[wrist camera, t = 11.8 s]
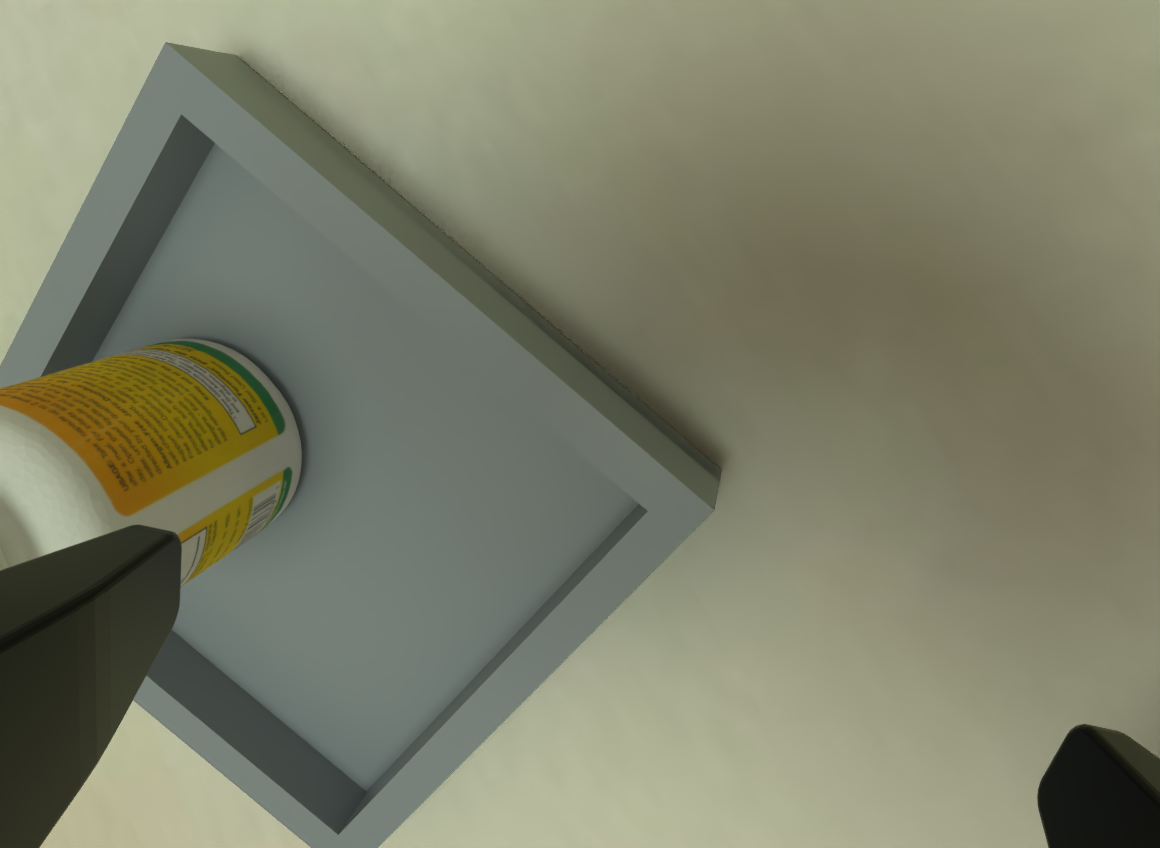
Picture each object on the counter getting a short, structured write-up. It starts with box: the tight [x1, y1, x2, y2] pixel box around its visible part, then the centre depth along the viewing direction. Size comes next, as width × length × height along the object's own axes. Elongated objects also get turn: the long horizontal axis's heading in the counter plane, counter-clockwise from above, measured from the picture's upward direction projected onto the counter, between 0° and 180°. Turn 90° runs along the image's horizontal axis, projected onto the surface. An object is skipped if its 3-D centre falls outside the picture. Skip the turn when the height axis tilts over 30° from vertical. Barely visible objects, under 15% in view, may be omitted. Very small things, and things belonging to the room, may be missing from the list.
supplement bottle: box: [0, 339, 302, 587], centre depth 18 cm, size 5×5×10 cm
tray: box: [0, 42, 722, 848], centre depth 22 cm, size 15×15×2 cm
